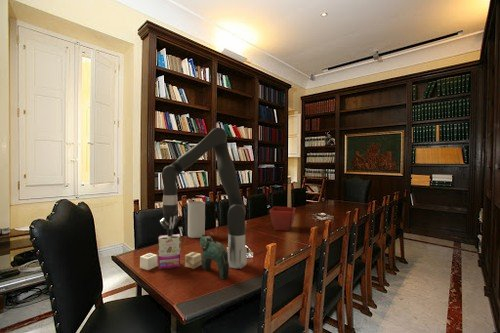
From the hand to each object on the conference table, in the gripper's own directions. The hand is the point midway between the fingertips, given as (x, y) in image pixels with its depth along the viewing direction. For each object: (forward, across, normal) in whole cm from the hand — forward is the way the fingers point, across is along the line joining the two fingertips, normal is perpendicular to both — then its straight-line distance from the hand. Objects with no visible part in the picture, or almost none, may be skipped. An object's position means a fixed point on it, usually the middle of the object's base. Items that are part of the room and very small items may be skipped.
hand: (169, 235), depth 131 cm
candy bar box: (+17, 0, 0) cm, 17 cm away
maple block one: (+16, +7, -10) cm, 20 cm away
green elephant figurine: (+16, +6, -25) cm, 31 cm away
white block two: (+16, -6, +9) cm, 20 cm away
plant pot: (+16, +101, -25) cm, 105 cm away
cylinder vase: (+17, +49, +24) cm, 57 cm away
